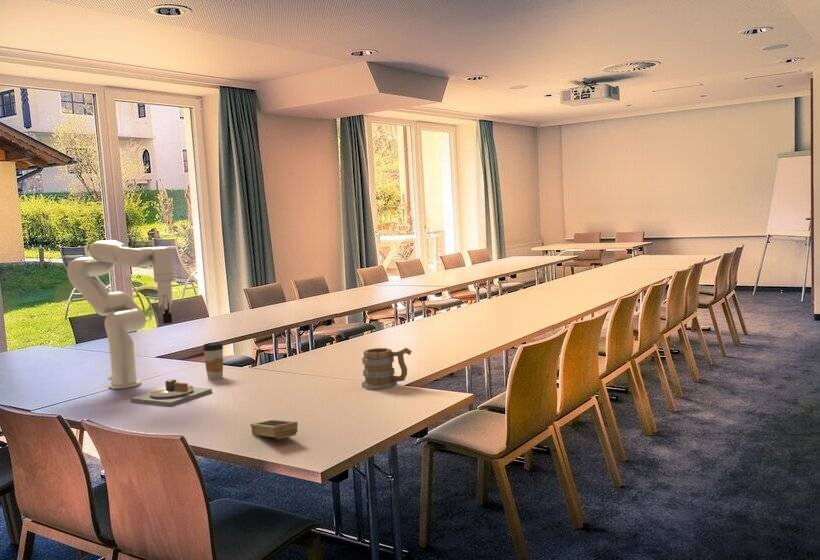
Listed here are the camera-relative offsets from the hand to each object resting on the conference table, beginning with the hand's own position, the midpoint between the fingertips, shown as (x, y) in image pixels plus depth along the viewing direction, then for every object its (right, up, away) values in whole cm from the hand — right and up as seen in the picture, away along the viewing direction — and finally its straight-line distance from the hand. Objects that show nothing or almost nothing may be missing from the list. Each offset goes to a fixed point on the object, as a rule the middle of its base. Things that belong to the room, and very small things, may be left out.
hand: (167, 322), depth 280 cm
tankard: (+90, -24, -13) cm, 94 cm away
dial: (+6, -26, -13) cm, 30 cm away
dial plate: (+6, -28, -13) cm, 31 cm away
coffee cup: (+14, -25, +18) cm, 34 cm away
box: (+56, -31, -70) cm, 95 cm away
